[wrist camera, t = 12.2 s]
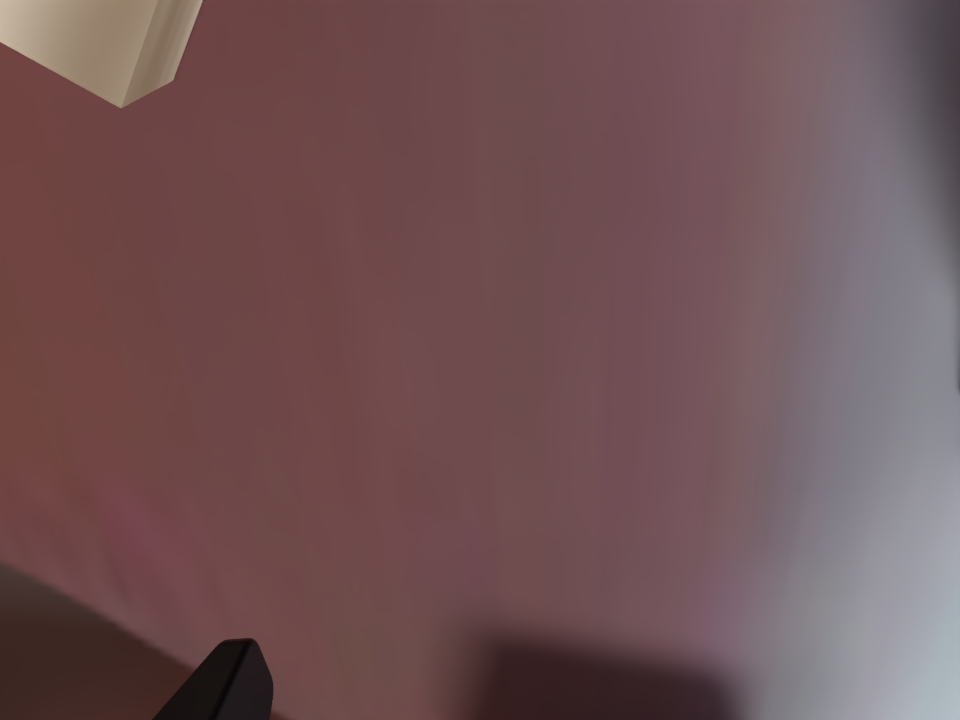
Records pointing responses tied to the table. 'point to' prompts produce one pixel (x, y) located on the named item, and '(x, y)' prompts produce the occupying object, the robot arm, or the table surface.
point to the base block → (103, 41)
